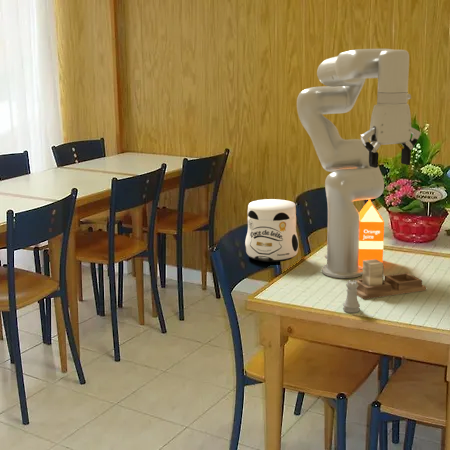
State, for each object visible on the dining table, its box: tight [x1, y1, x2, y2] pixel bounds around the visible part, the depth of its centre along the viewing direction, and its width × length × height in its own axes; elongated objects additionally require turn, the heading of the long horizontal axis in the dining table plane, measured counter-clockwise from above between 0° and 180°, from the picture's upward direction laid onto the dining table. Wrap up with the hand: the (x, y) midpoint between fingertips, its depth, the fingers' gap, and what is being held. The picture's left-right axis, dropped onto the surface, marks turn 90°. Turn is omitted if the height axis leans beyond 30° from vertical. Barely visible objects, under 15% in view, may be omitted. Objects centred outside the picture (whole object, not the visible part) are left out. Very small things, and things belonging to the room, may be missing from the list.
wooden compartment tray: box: [354, 259, 427, 300], centre depth 203 cm, size 8×20×9 cm, turn 109°
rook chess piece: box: [342, 279, 361, 314], centre depth 188 cm, size 4×4×8 cm
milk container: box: [244, 198, 300, 263], centre depth 234 cm, size 17×17×18 cm
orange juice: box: [358, 199, 385, 268], centre depth 226 cm, size 8×9×20 cm
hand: (389, 165), depth 189 cm, fingers open, 9 cm apart
